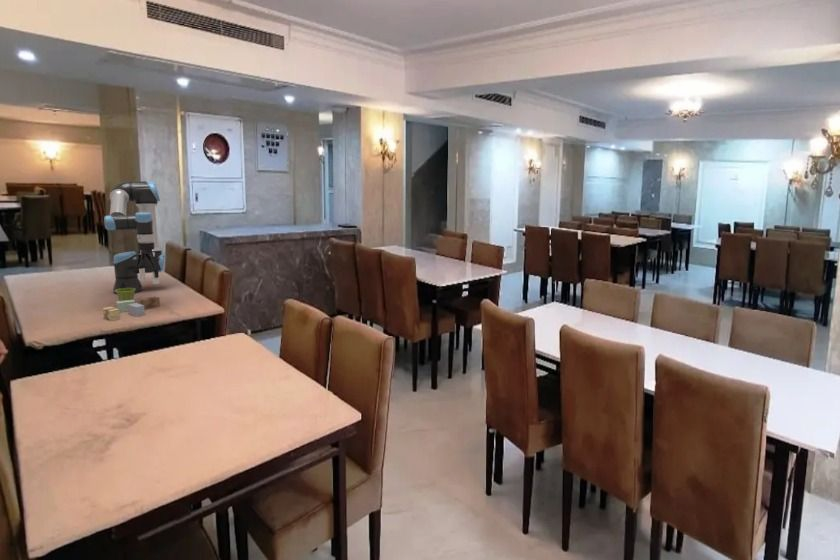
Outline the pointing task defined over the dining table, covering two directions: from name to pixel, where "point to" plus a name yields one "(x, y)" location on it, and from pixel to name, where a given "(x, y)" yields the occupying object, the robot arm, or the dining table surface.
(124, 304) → the sage brick
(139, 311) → the grey brick
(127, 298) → the plant pot
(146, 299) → the walnut brick
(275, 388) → the dining table surface
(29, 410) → the dining table surface
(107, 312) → the oak brick
